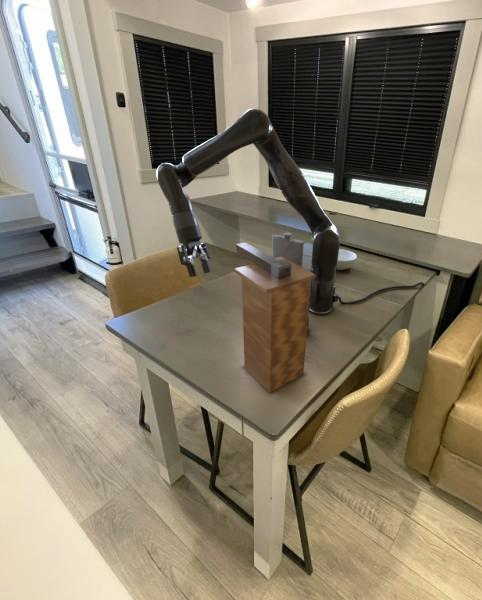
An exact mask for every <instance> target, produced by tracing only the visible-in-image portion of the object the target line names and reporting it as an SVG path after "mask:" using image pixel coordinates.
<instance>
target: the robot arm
mask: <svg viewBox="0 0 482 600" xmlns="http://www.w3.org/2000/svg"><path fill="white" fill-rule="evenodd" d="M250 145H253V146H254V147H255V148H256V150H257V151H258V152H259V154H260V155H261V156H262V158H263V159H264V161H265V162H266V165H267V167H268V170H269V171H270V174H271V176H272V178H273V180H274V182H275V184H276V186H277V187H278V189H279V191H280V192H281V194H282V196H283V197H284V199H285V200H286V202H287V204H289V205H290V207H291V208H292V209H294V211H295V212H296V213H297V214H298V215H300V216H301V217H302V219H303V220H304V221H305V223H306V224H307V226H308V228H309V230H310V232H311V235H312V236H313V240H312V249H311V250H312V252H311V265H310V266H311V267H310V272H312V273H314V274H316V278H314V279H311V286H310V293H311V297H310V309H309V312H310V313H312V314H315V315H327V314H330V313H331V312H332V310H333V309H334V303H337V302H339V303H340V304H341V305H353V304H356V303H360V302H361V303H362V302H364V301H366V300H367V299H368V298H370V297H372V296H374V295H377V293H380V292H383V291H387V290H393V289H410V288H415V287H419V286H420V285H422V286H425V283H424V282H421V281H420V282H417V283H415V284H413V285H395V286H388V287H387V286H386V287H384V288H383V287H382V288H380V289H378V290H377V289H376V290H375V291H374V292H371V293H369V294H368V295H366V296H365V297H363V298H359V299H357V300H352V301H343V300H342V298H341V296H339V294H338V293H336V286H335V280H336V273H337V270H336V266H337V261H338V254H339V249H340V245H341V239H340V233H339V230H338V228H337V227H336V226H335V224H334V223H333V222H332V221H331V219H330V218H329V217H328V216H327V214H326V213H325V211H324V209H323V207H322V206H321V205H320V203H319V201H318V198H317V196H316V195H315V192H314V191H313V189H312V186H311V185H310V183H309V182H308V180H307V178H306V176H305V175H304V173H303V172H302V170H301V169H300V167H299V166H298V165H297V163H296V162H295V160H294V159H293V158H292V156H291V155H290V154H289V153H288V151H287V150H286V148H285V147H284V146H283V143H282V142H281V140H280V138H279V136H278V134H277V132H276V130H275V128H274V126H273V123H272V120H271V118H270V117H269V116H268V114H267V113H266V112H265V111H263V110H262V109H259V108H249V109H248V110H246V111H245V112H244V113H243V114H242V115H240V117H239V118H237V119H236V120H235V121H234V122H233V123H232V124H231V125H230V126H228V127H227V128H226V129H225V130H223V131H222V132H220V133H219V134H217V135H214V137H212V138H210V139H208V140H206V141H205V142H203V143H201V144H200V145H198V146H196V147H194V148H193V149H191V150H190V151H187V152H186V153H185V154H184V155H183V156H182V161H181V162H180V163H179V164H177V165H174V164H172V163H168V162H164V163H161V164H159V165H158V167H157V169H156V180H157V183H158V186H159V188H160V190H161V191H162V194H163V196H164V197H165V199H166V201H167V203H168V207H169V211H170V214H171V217H172V224H173V227H174V230H175V234H176V237H177V241H178V243H179V244H181V245H177V246H176V251H177V254H178V258H179V259H178V260H179V262H180V265H181V266H185V267H186V269H187V273H188V276H189V277H190V278H193V277H197V271H196V268H195V265H194V261H195V259H197V260H198V261H199V262H200V264H201V267H202V271H203V273H204V274H210V273H211V269H210V265H209V260H211V258H212V257H211V254H210V251H209V248H208V245H207V242H201V240H202V239H203V236H202V233H201V230H200V226H199V222H198V218H197V216H196V213H195V211H194V207H193V204H192V200H191V197H190V196H189V195H188V194H187V193H186V192H185V191H184V188H185V187H187V186H188V185H190V183H192V182H193V181H194V180H195V179H196V178H197V177H198V176H199V175H201V174H203V173H205V172H206V171H209V170H210V169H212V168H213V167H214V166H217V165H218V164H219V163H220V162H221V161H223V160H224V159H225V158H227V157H228V156H230V155H231V154H234V152H236V151H238V150H240V149H243V148H245V147H247V146H250Z"/></svg>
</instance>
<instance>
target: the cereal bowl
mask: <svg viewBox="0 0 482 600" xmlns="http://www.w3.org/2000/svg"><path fill="white" fill-rule="evenodd" d="M357 259H358V255H357V254H356V253H355V252H353V251H351V250H349V249H344V248H339V254H338V261H337V266H336V271H343V270H347V269H351V268H352V267H354V266H355V264H356V262H357Z"/></svg>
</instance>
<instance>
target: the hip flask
mask: <svg viewBox="0 0 482 600" xmlns="http://www.w3.org/2000/svg"><path fill="white" fill-rule="evenodd" d="M271 245H272V246H271V247H272V248H271V257H273V258H278V257H283V258H285V259H287V260H289V261H291V262H293V263H295V264H297V265H299V266H300V267H302V268H303V260H304V247H305V246H304V245H305V241H304V240H301V239H295V238H292V233H291V232H283V235H281V234H280V235H279V234H272V244H271Z"/></svg>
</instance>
